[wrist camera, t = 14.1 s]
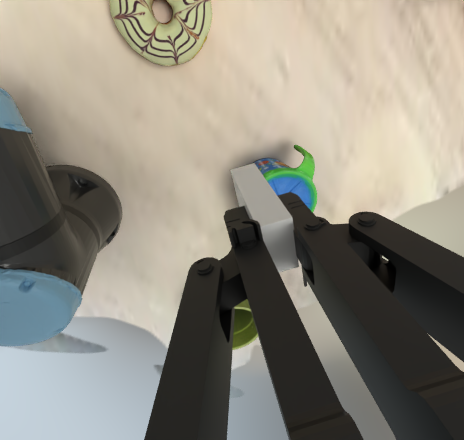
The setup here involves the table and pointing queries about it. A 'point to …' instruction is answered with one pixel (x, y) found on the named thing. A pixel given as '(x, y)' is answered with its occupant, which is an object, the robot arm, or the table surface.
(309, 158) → the snack cup
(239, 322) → the plant pot
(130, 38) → the decorated donut
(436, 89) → the table surface
